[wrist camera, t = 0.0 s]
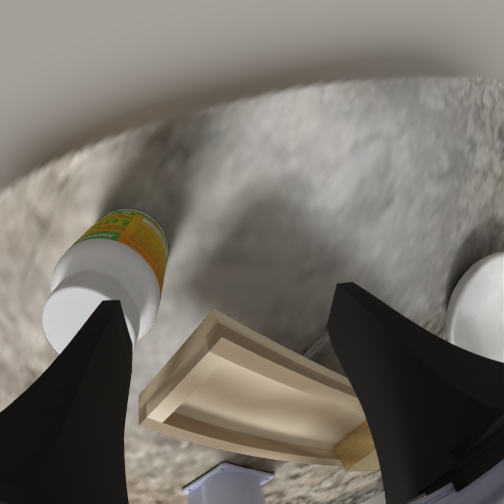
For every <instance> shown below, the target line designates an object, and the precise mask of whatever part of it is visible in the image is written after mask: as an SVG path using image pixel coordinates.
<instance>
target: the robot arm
mask: <svg viewBox="0 0 504 504" xmlns="http://www.w3.org/2000/svg"><path fill="white" fill-rule="evenodd" d="M327 331H328V334H329V337H330V340H331V343H332V346H333V348H334V351H335V353H336V356H337V358H338V360H339V362H340V364H341V366H342V368H343V370H344V372H345V374H346V376H347V378H348V380H349V382H350V384H351V386H352V388H353V390H354V392H355V394H356V396H357V398H358V400H359V402H360V404H361V406H362V409H363V411H364V414H365V417H366V420H367V423H368V426H369V429H370V432H371V435H372V439H373V442H374V445H375V449H376V453H377V457H378V461H379V465H380V469H381V474H382V479H383V485H384V491H385V498H386V504H410V503H412V502H414V501H416V500H418V499H420V498H422V497H424V496H425V495H427V496H426V497H424V498H422V499H420V500H418V501H417V502H415V503H412V504H504V363H503V362H499V361H496V360H493V359H489V358H486V357H483V356H481V355H478V354H475V353H472V352H470V351H468V350H465V349H463V348H460V347H458V346H456V345H454V344H451V343H449V342H447V341H445V340H444V339H442V338H440V337H438V336H436V335H434V334H432V333H430V332H428V331H427V330H425V329H423V328H422V327H420V326H418V325H417V324H415V323H414V322H412V321H410V320H409V319H407V318H406V317H404V316H403V315H401V314H400V313H398V312H397V311H395V310H394V309H392V308H391V307H389V306H388V305H386V304H385V303H383V302H382V301H381V300H379V299H378V298H376V297H375V296H373V295H372V294H370V293H369V292H367V291H366V290H364V289H363V288H361V287H360V286H358V285H356V284H355V283H353V282H348V283H339V284H337V285H336V290H335V294H334V298H333V303H332V307H331V311H330V315H329V319H328V324H327ZM132 351H133V344H132V341H131V337H130V334H129V331H128V327H127V324H126V320H125V317H124V313H123V309H122V306H121V302H120V300H103V301H102V302H101V303H100V304H99V305H98V307H97V308H96V309H95V310H94V312H93V313H92V314H91V315H90V317H89V318H88V319H87V321H86V322H85V323H84V325H83V326H82V327H81V328H80V330H79V331H78V332H77V334H76V335H75V336H74V337H73V339H72V340H71V341H70V342H69V344H68V345H67V346H66V347H65V349H64V350H63V351H62V352H61V353H60V355H59V356H58V357H57V358H56V359H55V360H54V362H53V363H52V364H51V365H50V366H49V367H48V369H47V370H46V371H45V372H44V373H43V374H42V375H41V376H40V377H39V378H38V379H37V380H36V381H35V382H34V383H33V384H32V385H31V386H30V387H29V388H28V389H27V390H26V391H25V392H24V393H22V394H21V395H20V396H19V397H18V398H17V399H16V400H14V401H13V402H12V403H11V404H10V405H9V406H8V407H7V408H5V409H4V410H3V411H1V412H0V504H129V502H128V494H127V486H126V475H125V459H124V429H125V419H126V411H127V403H128V395H129V388H130V381H131V374H132ZM272 478H274V474H271V473H266V472H262V471H257V470H253V469H248V468H244V467H240V466H236V465H233V464H229V463H222V464H220V465H219V466H218V467H216V468H215V469H213V470H212V471H210V472H209V473H207V474H206V475H204V476H203V477H201V478H199V479H198V480H196V481H195V482H193V483H192V484H190V485H188V486H187V487H185V488H183V489H182V493H184V494H188V504H266V502H265V498H264V494H263V491H262V487H261V485H263V484H264V483H266V482H268V481H269V480H271V479H272Z"/></svg>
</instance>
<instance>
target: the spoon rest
mask: <svg viewBox="0 0 504 504" xmlns="http://www.w3.org/2000/svg"><path fill="white" fill-rule="evenodd" d="M446 332H447V338H448V342H449V343H451V344H454V345H456V346H458V347H460V348H463V349H465V350H468V351H470V352H472V353H475V354H478V355H481V356H483V357H486V358H489V359H493V360H496V361H499V362H503V363H504V252H497V253H494V254H491V255H488V256H486V257H484V258H482V259H480V260H479V261H477V262H476V263H475V264H473V265H472V266H471V267H470V268H469V269H468V270H467V271H466V272H465V274H464V275H463V276H462V277H461V279H460V280H459V282H458V283H457V285H456V287H455V289H454V291H453V293H452V295H451V298H450V301H449V304H448V309H447V315H446Z"/></svg>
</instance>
